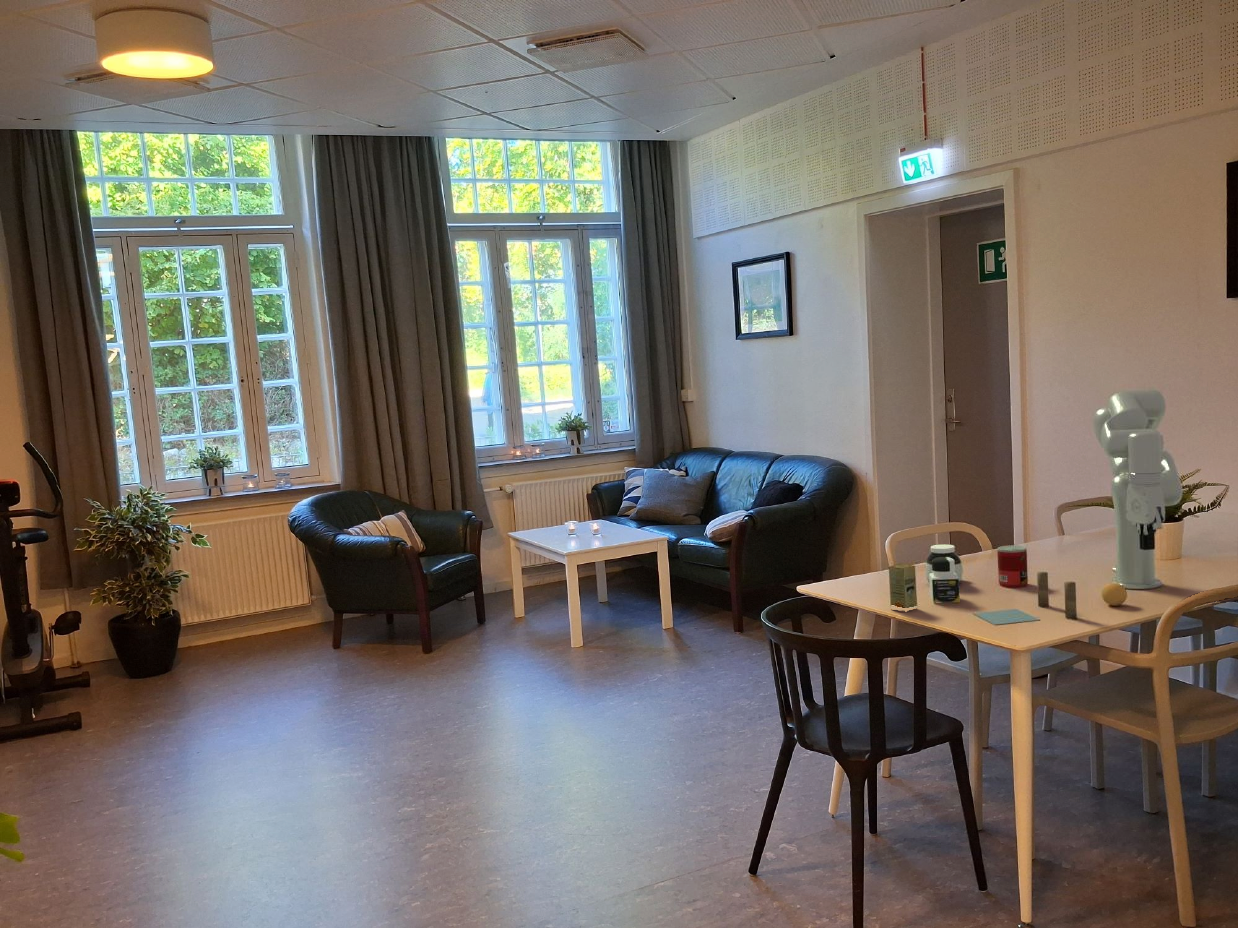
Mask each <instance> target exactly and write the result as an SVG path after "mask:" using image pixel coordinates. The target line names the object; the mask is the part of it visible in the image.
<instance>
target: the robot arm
mask: <svg viewBox="0 0 1238 928" xmlns="http://www.w3.org/2000/svg"><path fill="white" fill-rule="evenodd" d="M1165 413H1166V401H1165V397H1164V395H1163V394H1162V393H1161V392H1160V391H1158V390H1157V389H1136V390H1135V389H1134V390H1124V391H1118V392H1117V393H1114V394H1113V395H1111V397H1109V400H1108V402H1107V406H1104V407H1102V408H1099V409H1097V411H1096V412H1095V413H1094V415H1093V418H1092V419H1093V421H1092V422H1093V429H1094V434H1095V437H1096V439H1097V441H1098V443H1099V445H1100V447H1101V448H1102V449H1103V451H1104V453H1105V455H1106V456H1107V458H1108V461H1109V465H1110V469H1111V472H1112V475H1113V478H1112V480H1111V482H1110V491H1111V499H1112V503H1113V509H1114V519H1115V523H1114V524H1115V546H1116V547H1115V548H1116V549H1115V551H1116V566H1115V567H1112V569H1111V571H1112V572H1113V573H1115V577H1112V578H1111V580H1110V583H1119V584H1121V585H1122V586H1123V587H1124V588H1125V589H1128V590H1147V589H1148V590H1149V589H1156V588H1159V587H1161V586H1162V580H1161V579H1159V578H1157V577H1156V570H1155V569H1156V566H1155V561H1156V560H1155V548H1156V542H1155V541H1156V539H1155V538H1156V536H1155V535H1156V534H1157V530H1161V529H1163V525H1162V524H1163V523H1164V522H1165V520H1166V507H1170V506H1171V507H1172V506H1175V505H1177V504H1179V503H1180V501H1181V500H1182V498H1183V485H1182V481H1181V479H1180V476H1179V472H1178V468H1177V466H1176V463H1175V461H1174V457H1173V456H1172V454H1171V453H1170V452H1168V451H1166V450H1163V449H1164V443H1165V442H1164V436H1163V435H1162V434H1161V432H1160V431H1159V430H1158V428H1160V427H1159V426H1160V425H1161V422H1162V420H1163V419H1164V417H1165Z"/></svg>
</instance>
